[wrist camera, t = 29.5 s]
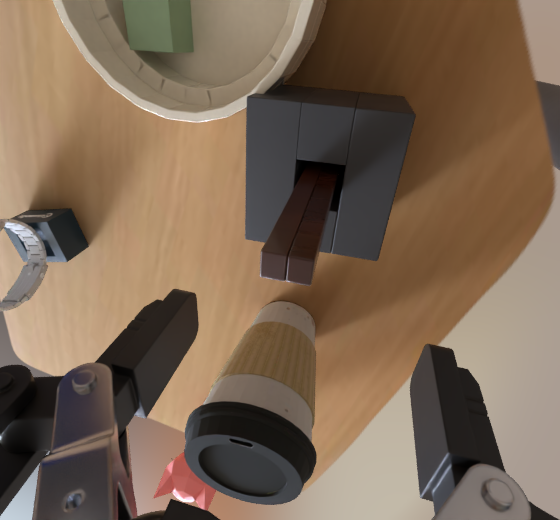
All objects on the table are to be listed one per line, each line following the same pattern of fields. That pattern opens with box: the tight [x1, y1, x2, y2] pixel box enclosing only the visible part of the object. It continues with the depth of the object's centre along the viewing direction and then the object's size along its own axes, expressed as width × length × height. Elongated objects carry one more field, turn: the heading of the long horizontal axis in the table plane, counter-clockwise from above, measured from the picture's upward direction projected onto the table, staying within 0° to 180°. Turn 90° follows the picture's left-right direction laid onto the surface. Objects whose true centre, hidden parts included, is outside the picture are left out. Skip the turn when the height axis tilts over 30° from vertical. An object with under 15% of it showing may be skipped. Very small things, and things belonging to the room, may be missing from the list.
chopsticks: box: [260, 161, 341, 286], centre depth 19 cm, size 2×1×16 cm, turn 86°
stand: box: [245, 85, 416, 261], centre depth 23 cm, size 9×9×7 cm
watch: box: [0, 209, 89, 311], centre depth 31 cm, size 6×8×11 cm
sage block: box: [122, 0, 194, 53], centre depth 22 cm, size 3×3×3 cm
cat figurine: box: [154, 452, 216, 510], centre depth 42 cm, size 7×7×12 cm
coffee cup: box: [184, 301, 316, 505], centre depth 30 cm, size 10×10×15 cm
